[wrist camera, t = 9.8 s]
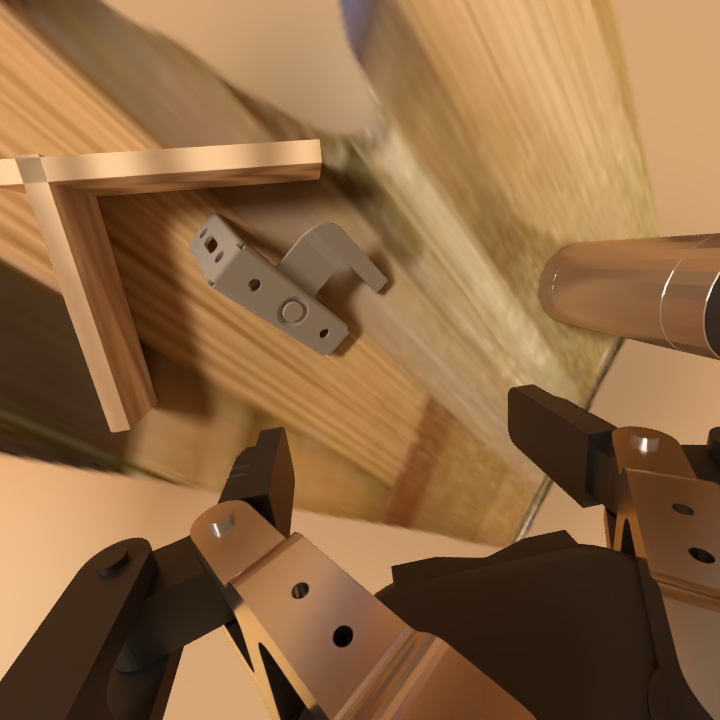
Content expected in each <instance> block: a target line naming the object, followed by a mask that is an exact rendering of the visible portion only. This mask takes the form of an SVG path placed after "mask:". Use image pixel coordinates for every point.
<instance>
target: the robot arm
mask: <svg viewBox="0 0 720 720" xmlns="http://www.w3.org/2000/svg"><path fill="white" fill-rule="evenodd" d="M539 290H540V300H541V304H542V306H543V308H544V310H545V312H546V313H547V314H548V315H549V316H550V317H551V318H553V319H554V320H556V321H559V322H562V323H566V324H570V325H574V326H578V327H582V328H586V329H590V330H594V331H599V332H603V333H607V334H611V335H615V336H619V337H624V338H628V339H632V340H636V341H640V342H645V343H649V344H653V345H658V346H661V347H666V348H670V349H674V350H678V351H682V352H687V353H692V354H696V355H701V356H704V357H709V358H712V359H717V360H720V233H716V234H700V235H686V236H671V237H656V238H641V239H626V240H609V241H595V242H582V243H575V244H572V245H569V246H567V247H565V248H563V249H562V250H560V251H559V252H558V253H557V254H556V255H554V256H553V258H552V259H551V260H550V261H549V263H548V264H547V266H546V268H545V270H544V272H543V275H542V278H541V281H540V288H539ZM508 431H509V435H510V438H511V440H512V442H513V443H514V445H515V446H516V447H517V448H518V449H520V450H521V451H522V452H523V453H524V454H525V455H526V456H527V457H528V458H529V459H530V460H532V461H533V462H534V463H535V464H536V465H537V466H538V467H539V468H540V469H541V470H542V471H543V472H545V473H546V474H547V475H548V476H549V477H550V478H551V479H552V480H553V481H554V482H555V483H556V484H558V485H559V486H560V487H561V488H562V489H563V490H564V491H565V492H566V493H567V494H569V495H570V496H571V497H572V498H573V499H574V500H575V501H576V502H577V503H578V504H579V505H580V506H582V507H583V508H586V507H590V506H595V505H600V504H603V505H604V506H605V508H604V525H605V534H606V542H607V548H605V547H600V546H595V545H586V544H578V543H577V542H576V541H575V540H574V539H573V538H572V537H571V536H570V535H569V533H567V532H566V530H562V531H557V532H552V533H547V534H543V535H538V536H533V537H528V538H524V539H522V540H520V541H518V542H516V543H514V544H512V545H510V546H508V547H506V548H504V549H502V550H500V551H498V552H496V553H494V554H493V555H491V556H488V557H485V558H460V557H455V558H454V557H434V558H429V559H424V560H419V561H415V562H410V563H405V564H400V565H395V566H392V567H391V568H392V576H393V583H392V584H390V585H388V586H386V587H385V588H383V589H382V590H380V591H379V592H377V593H376V594H375V595H374V596H373V595H372V594H371V593H370V592H369V591H367V590H366V589H365V588H364V587H363V586H362V585H360V584H359V583H358V582H357V581H356V580H354V579H353V578H352V577H351V576H350V575H349V574H348V573H346V572H345V571H344V570H343V569H342V568H341V567H339V566H338V565H337V564H336V563H335V562H334V561H332V560H331V559H330V558H329V557H328V556H327V555H325V554H324V553H323V552H322V551H321V550H319V549H318V548H317V547H316V546H315V545H314V544H312V543H311V542H310V541H309V540H308V539H307V538H305V537H304V536H303V535H302V534H300V533H298V532H294V533H293V534H292V535H290V527H291V516H292V506H293V496H294V486H295V479H294V470H293V464H292V460H291V455H290V450H289V446H288V441H287V436H286V432H285V429H284V427H278V428H273V429H267V430H261V432H260V435H259V438H258V441H257V444H256V446H253V447H247V448H246V449H245V450H244V451H243V452H242V453H241V454H240V455H239V456H238V457H237V458H236V460H235V462H234V465H233V467H232V468H233V469H232V470H231V472H230V475H229V478H228V479H227V482H226V484H225V487H224V489H223V492H222V494H221V497H220V499H219V501H218V504H217V505H215V506H213V507H211V508H209V509H208V510H207V511H205V512H204V513H202V514H201V515H200V516H199V517H198V518H197V519H196V520H195V522H194V523H193V525H192V527H191V530H190V535H189V536H187V537H185V538H183V539H181V540H179V541H176V542H174V543H172V544H169V545H167V546H164V547H162V548H160V549H157V550H155V551H152V548H151V545H150V543H149V541H147V540H146V539H143V538H131V539H126V540H123V541H120V542H117V543H115V544H113V545H111V546H109V547H107V548H105V549H104V550H102V551H101V552H99V553H98V554H96V555H95V556H93V557H92V558H91V559H90V560H89V561H88V562H86V563H85V565H84V566H83V567H82V568H81V569H80V570H79V571H78V573H77V574H76V576H75V577H74V579H73V580H72V581H71V582H70V584H69V585H68V587H67V588H66V590H65V591H64V592H63V594H62V595H61V597H60V598H59V599H58V601H57V602H56V604H55V605H54V606H53V608H52V609H51V611H50V612H49V614H48V615H47V616H46V618H45V619H44V621H43V622H42V623H41V625H40V626H39V628H38V629H37V631H36V632H35V633H34V635H33V636H32V638H31V639H30V641H29V642H28V643H27V645H26V646H25V648H24V649H23V650H22V652H21V653H20V654H19V656H18V657H17V659H16V660H15V662H14V663H13V664H12V666H11V667H10V669H9V670H8V671H7V673H6V674H5V676H4V677H3V678H2V680H1V681H0V720H163V716H164V713H165V709H166V706H167V702H168V699H169V695H170V692H171V689H172V685H173V682H174V678H175V675H176V672H177V668H178V665H179V661H180V658H181V654H182V651H183V648H184V646H185V645H186V644H189V643H190V642H192V641H194V640H196V639H198V638H200V637H202V636H204V635H205V634H207V633H209V632H211V631H213V630H215V629H217V628H219V627H222V629H223V631H224V633H225V634H226V636H227V638H228V639H229V641H230V643H231V644H232V646H233V648H234V649H235V651H236V652H237V654H238V656H239V658H240V660H241V661H242V663H243V665H244V666H245V668H246V670H247V671H248V673H249V675H250V677H251V678H252V680H253V682H254V683H255V685H256V687H257V689H258V691H259V693H260V694H261V697H262V699H263V701H264V703H265V706H266V708H267V710H268V712H269V715H270V717H271V718H272V720H720V427H715V428H713V429H711V430H710V431H709V436H708V441H707V445H680V444H679V442H678V441H677V440H676V439H674V438H673V437H671V436H669V435H668V434H665V433H663V432H660V431H657V430H653V429H649V428H643V427H632V426H631V427H630V426H629V427H621V428H617V427H616V426H614V425H612V424H610V423H608V422H607V421H604V420H603V419H601V418H599V417H597V416H596V415H594V414H592V413H588V411H586V410H585V409H583V408H581V407H580V408H579V407H578V406H577V405H575V404H574V403H572V402H570V401H568V400H566V399H563V398H560V397H556V396H553V395H552V394H550V393H548V392H546V391H544V390H543V389H541V388H539V387H537V386H535V385H533V384H531V385H525V386H519V387H513V388H511V389H510V390H509V392H508Z"/></svg>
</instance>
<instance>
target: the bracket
mask: <svg viewBox="0 0 720 720" xmlns="http://www.w3.org/2000/svg"><path fill="white" fill-rule="evenodd" d="M213 238H214V239H215V240H216V241H217V243H218V245H217V248H216V249H215V251H214V252H213V253H211V252H210V250H209V249H208V244H209V242H210V241H211V239H213ZM189 246H190V248H191V250H192V252H193V254H194V256H195V258H196V260H197V262H198V264H199V266H200V268H201V270H202V272H203V274H204V276H205V278H206V280H207V282H208V284H209V285H210V286H212V288H214V289H215V290H217V291H219V292H220V293H222V294H224V295H225V296H227V297H228V298H230V299H232V300H233V301H235V302H236V303H238V304H240V305H241V306H243V307H245V308H246V309H248V310H249V311H251V312H253V313H254V314H256V315H258V316H259V317H261V318H262V319H264V320H266V321H267V322H269V323H270V324H272V325H274V326H275V327H277V328H279V329H280V330H282V331H283V332H285V333H287V334H288V335H290V336H292V337H293V338H295V339H296V340H298V341H300V342H301V343H303V344H305V345H306V346H308V347H309V348H311V349H313V350H314V351H316V352H317V353H319V354H321V355H322V356H324V355H325V354H327V355H329V356H330V355H331V354H332V353H333V352H334V350H335V349H336V348H337V347H338V346H339V345H340V343H341V342H342V341H343V340H344V339H345V338H346V336H347V335H348V334H349V333H350V332H349V331H348V330H347V329H348V325H347V324H346V323H345V322H344V321H343V320H341V319H340V318H339V317H337V316H336V315H335V314H334V313H332V312H331V311H330V310H329V309H327V308H326V307H325V306H323V305H322V304H321V303H320V302H319V301H317V300H316V294H317V292H318V291H319V290H320V289H321V287H322V286H323V285H324V284H325V283H326V281H327V280H328V279H329V278H330V277H331V276H332V274H333V273H334V272H335V271H336V270H337V269H338V268H339V267H341V266H343V265H349V266H350V267H351V268H352V269H353V270H354V271H355V272H356V273H357V274H358V275H359V276H360V277H361V278H362V279H363V280H364V281H365V282H366V283H367V284H368V285H369V286H370V287H371V288H372V290H373V291H374V292H375V293H378V292H379V291H380V290H381V289H382V287H383V286H384V285H385V284H386V283H387V282H388V280H387V279H386V277H385V276H384V275H383V274H382V273H381V272H380V271H379V270H378V268H377V267H376V266H375V265H374V264H373V263H372V262H371V261H370V259H369V258H368V257H367V256H366V255H365V254H364V253H363V252H362V250H361V249H360V248H359V247H358V246H357V245H356V244H355V242H354V241H353V240H352V239H351V238H350V237H349V236H348V235H347V233H346V232H345V231H344V230H343V229H342V228H341V227H340V226H338V225H336V224H334V223H331V222H322V223H319V224H317V225H315V226H313V227H312V228H311V229H309V230H308V231H306V232H305V233H304V234H303V235H302V236H301V237H300V238H299V239H298V241H297V242H296V243H295V244H294V246H293V247H292V248H291V249H290V250H289V252H288V253H287V254H286V255H285V257H284V258H283V259H282V260H281V261H280V263H279V264H278V265H277V266H276V267H275V266H274V265H272V264H271V263H270V262H269V261H268V260H267V259H266V258H265V257H264V256H263V255H261V254H260V253H259V252H258V251H256V250H255V249H254V248H253V247H251V246H249V245H246V243H245V242H244V241H243V240H242V239H241V238H240V237H239V236H238V234H237V233H236V232H235V231H234V230H233V229H232V228H231V227H230V225H229V224H228V223H227V222H226V221H225V220H224V219H223V218H222V217H221V216H220V215H218V214H217V213H212V214H211V215H210V216H209V217H208V219H207V220H206V221H205V223H204V224H203V225H202V227H201V228H200V229H199V231H198V232H197V233H196V235H195V236H194V237H193V238H192V240H191V241H190V242H189ZM240 247H242V249H240ZM222 256H223V257H222ZM221 257H222V258H221ZM220 258H221V260H220ZM219 260H220V261H219ZM248 286H249V287H250V289H251V290H250V289H249V288H248ZM324 329H328V333H327V335H326V336H324V337H320V332H321V331H322V330H324Z"/></svg>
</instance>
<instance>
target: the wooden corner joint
mask: <svg viewBox="0 0 720 720" xmlns="http://www.w3.org/2000/svg"><path fill="white" fill-rule="evenodd" d="M14 158H15V159H1V160H0V188H4V189H8V190H12V191H17V192H21V193H25V194H27V195H28V198H29V200H30V203H31V206H32V209H33V212H34V215H35V217H36V220H37V223H38V226H39V229H40V232H41V234H42V237H43V240H44V243H45V246H46V249H47V251H48V254H49V257H50V260H51V263H52V266H53V268H54V271H55V274H56V277H57V280H58V283H59V286H60V288H61V291H62V294H63V297H64V300H65V303H66V305H67V308H68V311H69V314H70V317H71V320H72V322H73V325H74V328H75V331H76V334H77V337H78V339H79V342H80V345H81V348H82V351H83V354H84V356H85V359H86V362H87V365H88V368H89V371H90V374H91V376H92V379H93V382H94V385H95V388H96V391H97V393H98V396H99V399H100V402H101V405H102V408H103V410H104V413H105V416H106V419H107V422H108V425H109V427H110V430H111V432H118V431H124V430H130V429H131V428H132V427H134V426H135V425H136V424H137V423H138V422H139V421H140V420H141V419H142V418H143V417H144V416H145V415H146V414H147V413H148V412H149V411H150V410H151V409H152V408H153V407H154V406H155V405H156V404H158V402H157V399H156V395H155V392H154V389H153V385H152V382H151V379H150V375H149V372H148V368H147V365H146V362H145V358H144V355H143V352H142V348H141V345H140V342H139V338H138V335H137V332H136V328H135V325H134V322H133V318H132V315H131V312H130V308H129V305H128V302H127V298H126V295H125V292H124V288H123V285H122V281H121V278H120V275H119V271H118V268H117V265H116V261H115V258H114V255H113V251H112V248H111V245H110V241H109V238H108V235H107V231H106V228H105V225H104V221H103V218H102V215H101V211H100V208H99V204H98V201H97V198H96V197H99V196H112V195H125V194H138V193H151V192H164V191H177V190H190V189H203V188H216V187H229V186H242V185H255V184H268V183H281V182H294V181H307V180H319V178H320V172H321V166H322V158H321V150H320V141H319V139H318V140H302V141H286V142H270V143H254V144H239V145H223V146H207V147H191V148H175V149H160V150H144V151H128V152H112V153H96V154H80V155H65V156H49V157H45V156H42V155H40V154H29V155H14Z"/></svg>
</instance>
